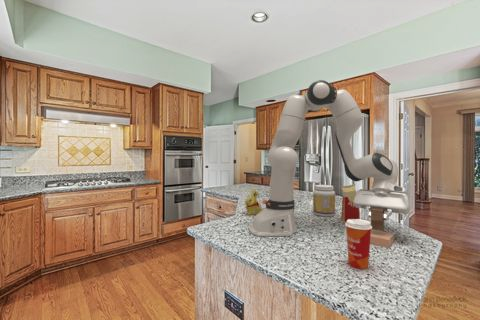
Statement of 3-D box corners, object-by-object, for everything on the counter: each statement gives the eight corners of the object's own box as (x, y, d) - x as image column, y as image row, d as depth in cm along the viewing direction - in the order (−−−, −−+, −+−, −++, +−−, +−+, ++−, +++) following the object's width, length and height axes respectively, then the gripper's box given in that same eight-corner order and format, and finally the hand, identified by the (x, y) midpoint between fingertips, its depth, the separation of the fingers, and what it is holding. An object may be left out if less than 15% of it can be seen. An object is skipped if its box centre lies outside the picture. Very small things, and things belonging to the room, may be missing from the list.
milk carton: (358, 219, 127) (358, 182, 126) (360, 224, 118) (361, 184, 118) (339, 218, 130) (339, 182, 129) (341, 223, 121) (341, 184, 121)
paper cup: (340, 260, 79) (340, 218, 79) (362, 259, 80) (362, 218, 79) (353, 271, 71) (354, 225, 71) (377, 270, 72) (378, 225, 72)
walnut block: (382, 231, 93) (382, 210, 93) (370, 228, 96) (370, 209, 95) (384, 228, 96) (384, 209, 96) (373, 226, 99) (373, 207, 98)
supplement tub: (311, 211, 145) (311, 184, 145) (332, 212, 144) (332, 184, 143) (315, 216, 133) (315, 187, 133) (337, 217, 132) (337, 187, 131)
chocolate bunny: (243, 214, 140) (243, 189, 139) (260, 212, 144) (259, 188, 143) (248, 217, 133) (247, 190, 133) (265, 215, 137) (265, 189, 137)
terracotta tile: (389, 248, 89) (389, 240, 89) (360, 241, 96) (360, 234, 95) (394, 240, 96) (394, 233, 96) (367, 235, 103) (367, 228, 103)
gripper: (355, 184, 107) (348, 209, 101) (410, 188, 94) (406, 218, 87) (358, 193, 111) (351, 218, 104) (412, 198, 97) (408, 227, 90)
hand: (377, 218), depth 95 cm, fingers closed on walnut block, 4 cm apart
